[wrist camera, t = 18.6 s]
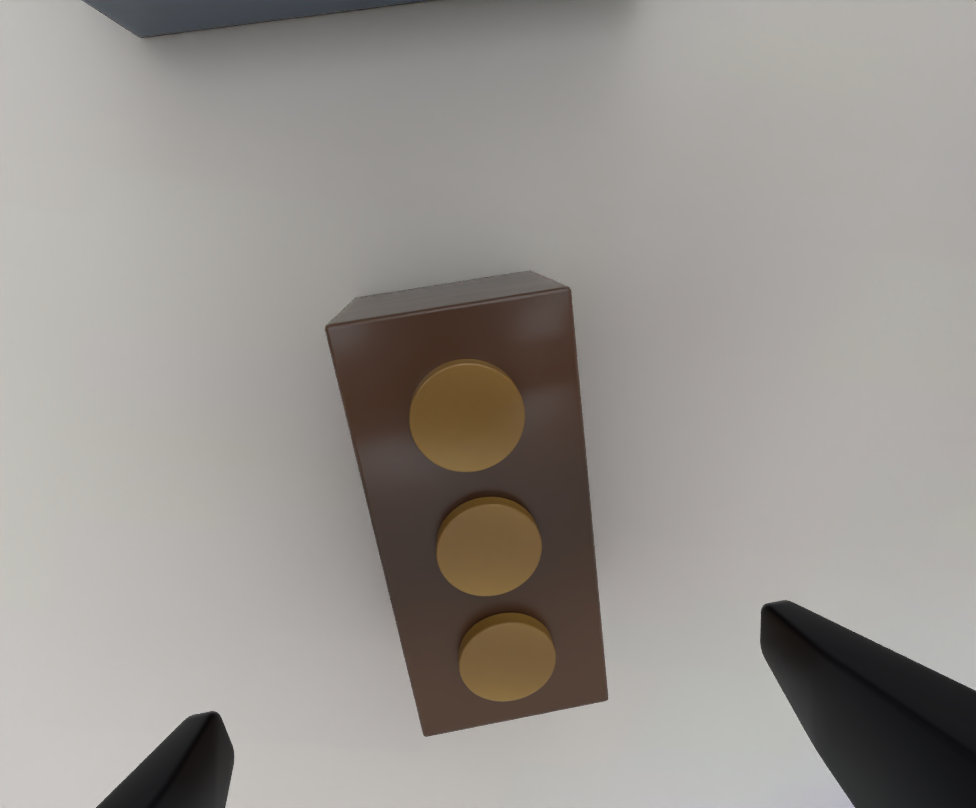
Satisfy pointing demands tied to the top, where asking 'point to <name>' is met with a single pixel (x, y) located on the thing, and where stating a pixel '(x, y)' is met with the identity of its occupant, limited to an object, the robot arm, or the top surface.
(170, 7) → the dial panel
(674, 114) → the top surface
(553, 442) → the token holder
